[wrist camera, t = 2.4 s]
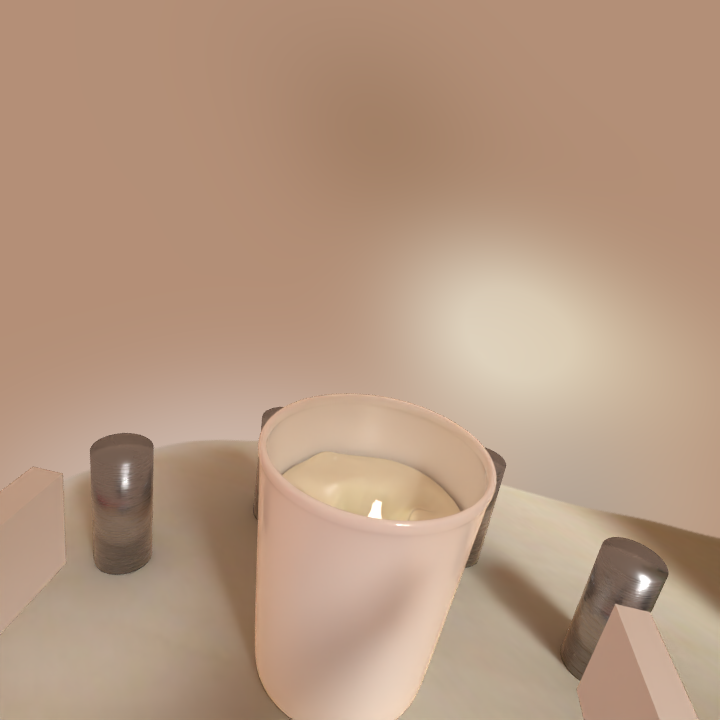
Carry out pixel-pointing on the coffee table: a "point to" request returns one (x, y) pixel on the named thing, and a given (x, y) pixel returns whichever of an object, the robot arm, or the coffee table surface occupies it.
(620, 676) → the robot arm
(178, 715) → the coffee table surface
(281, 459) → the candle holder
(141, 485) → the spacer posts
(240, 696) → the coffee table surface
